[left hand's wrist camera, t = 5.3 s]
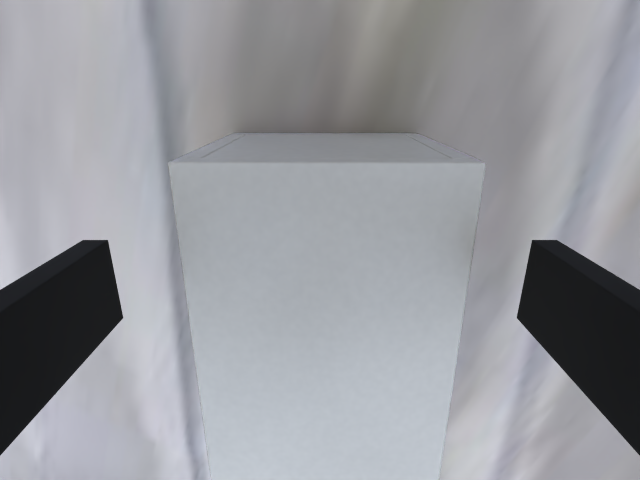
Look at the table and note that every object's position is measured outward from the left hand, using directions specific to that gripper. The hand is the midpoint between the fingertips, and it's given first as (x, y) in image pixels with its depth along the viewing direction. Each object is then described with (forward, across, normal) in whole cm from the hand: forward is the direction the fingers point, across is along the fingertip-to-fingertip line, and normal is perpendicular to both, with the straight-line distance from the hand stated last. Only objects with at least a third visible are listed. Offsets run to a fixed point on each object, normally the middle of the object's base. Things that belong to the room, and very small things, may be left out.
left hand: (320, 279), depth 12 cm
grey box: (+12, 0, -5) cm, 14 cm away
